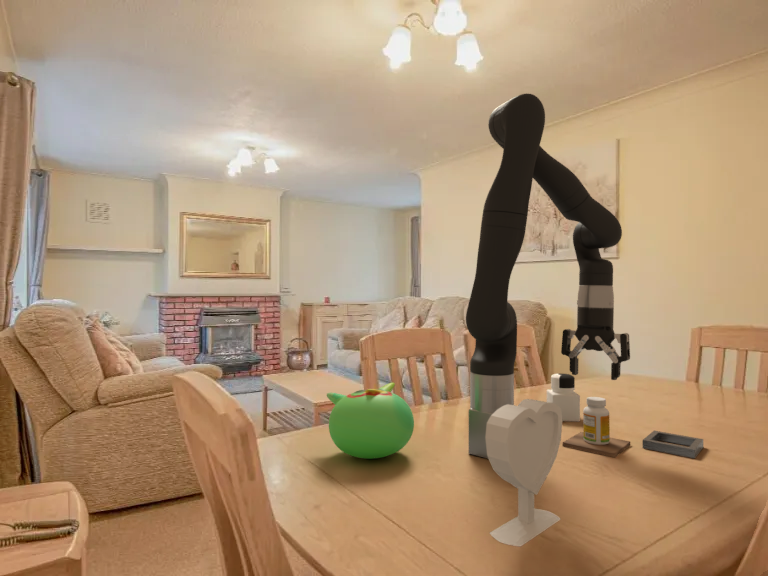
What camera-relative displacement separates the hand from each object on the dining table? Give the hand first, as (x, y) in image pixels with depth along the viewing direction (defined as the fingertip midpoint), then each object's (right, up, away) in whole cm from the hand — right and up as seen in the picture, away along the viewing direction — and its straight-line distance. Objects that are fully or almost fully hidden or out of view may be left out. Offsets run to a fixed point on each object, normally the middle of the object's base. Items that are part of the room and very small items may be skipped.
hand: (594, 377), depth 108 cm
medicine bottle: (+1, -16, +23) cm, 28 cm away
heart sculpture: (-27, -15, -38) cm, 48 cm away
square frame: (+17, -15, -2) cm, 23 cm away
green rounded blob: (-50, -16, -7) cm, 53 cm away
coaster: (0, -15, -1) cm, 15 cm away
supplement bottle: (0, -15, -1) cm, 15 cm away
